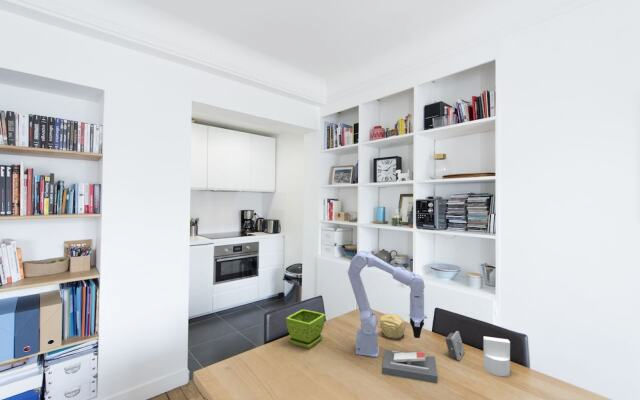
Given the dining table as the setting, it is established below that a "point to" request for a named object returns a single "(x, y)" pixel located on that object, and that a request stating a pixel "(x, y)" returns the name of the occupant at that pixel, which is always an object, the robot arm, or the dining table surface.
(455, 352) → the grey stone block
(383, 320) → the sculpture
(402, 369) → the switch panel
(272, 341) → the dining table surface
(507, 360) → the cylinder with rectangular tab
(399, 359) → the rocker paddle
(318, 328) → the flower pot
